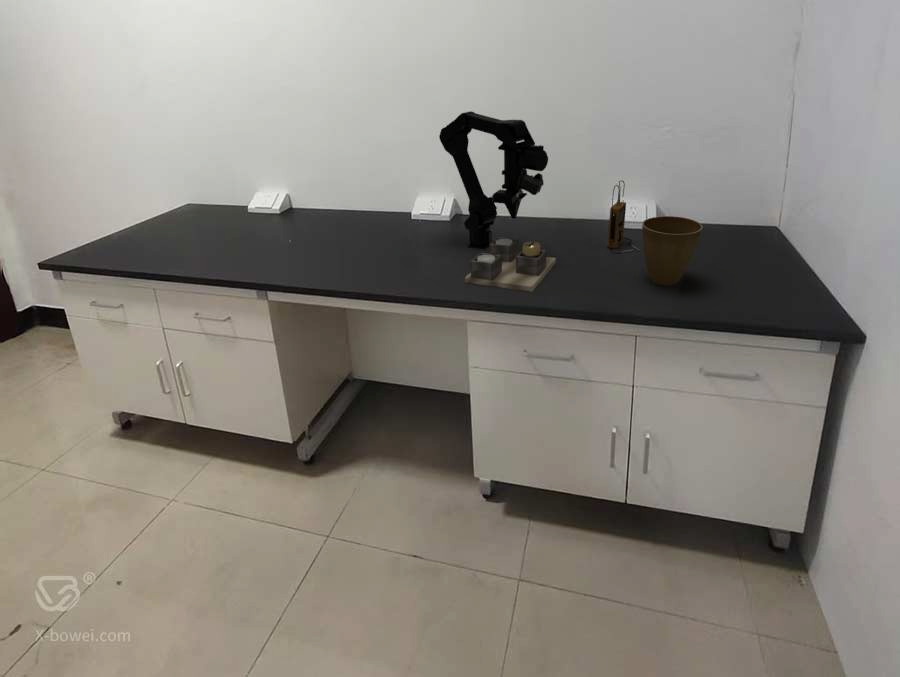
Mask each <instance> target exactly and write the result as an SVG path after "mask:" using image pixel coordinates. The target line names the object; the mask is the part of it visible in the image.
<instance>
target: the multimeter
mask: <svg viewBox="0 0 900 677" xmlns="http://www.w3.org/2000/svg"><path fill="white" fill-rule="evenodd" d="M621 182H623V190H622V188H621ZM616 187H617V188H618V190H619V191H618V193H617V194H618V195H617V200H616V202H615V203H614V194H615V189H616ZM625 187H626V186H625V181H624V180H619V181H618V184H616V185H614V187H613V190H612V199H611V200H612V203H611V207H610V208H609V209H610V210H609V220H608V221H609V224H608V236H607V248H609V249H610V251H611V253H613V254H616V255H617V254H624V253H628V252H630V251H634V250H638V251H640V249H639V248H638V247H636V246H635V245H632V244H630V243H632V239H630V238H628V237H624V232H625V223H626V222H625V221H626V220H625V219H626V211H627V210H626V208H627V202H624V201H621V190H622V196H624V193H625ZM624 239H626V240H629V242H627V245H629V246H630V247H632V249H627V250H623V251H621V252H614V251H613V249H617V248H618V247H619V246H620V245H621V244H622V243H623V242H624Z"/></svg>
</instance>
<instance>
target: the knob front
mask: <svg viewBox="0 0 900 677" xmlns="http://www.w3.org/2000/svg"><path fill="white" fill-rule="evenodd" d="M494 260H495V257H494V256H493V255H481V256H478V257H477V261H480V262H488V263H492V262H493V261H494Z"/></svg>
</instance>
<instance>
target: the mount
mask: <svg viewBox="0 0 900 677" xmlns="http://www.w3.org/2000/svg"><path fill="white" fill-rule="evenodd" d="M498 239H511V240H512V244H511V245H510V246H507V245H498V244H496V240H498ZM492 241H493V242H491V243H490V244H489V246H488V247H489V253H484V252H479V253H478V254H477V255H475V256H474V257H473V258H472V259H471V260H470V262H469V263H470V264H469V266H470V273H468V274H467V275H466V276H465V278H464V283H466V284H473V285H480V286H487V287H495V288H503V289H510V290H516V291H524V292H529V293H530V292H531V293H532V292H533V291H534V289H535V288H537V286H538V285H539V284H540V283H541V282H542V281H543V279H544V278H545V277H546V276H547V274H548V273H549V271H550V270H552V268H553V267H554V266H553V265H555V264H556V263H557V258H556V257H550V256H547V250H542V249H540V256H539V257H538V258H531V257H522V250H520V248H519V246H520V245H519V244H520V242H519V241H520V240H519V238H513V237H503V236H497V237H496V238H495V239H494V240H492ZM519 251H520V252H519ZM481 255H493V256H494V257H495V260H494V261H493V262H492V263H488V262H480V261H477V257H478V256H481Z"/></svg>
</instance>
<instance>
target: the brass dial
mask: <svg viewBox="0 0 900 677" xmlns="http://www.w3.org/2000/svg"><path fill="white" fill-rule="evenodd" d="M540 250H541V243H540V242H537V241H526V242H523V243H522V250H521V251H522V257H531V258H538V257H539V256H540Z"/></svg>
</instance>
